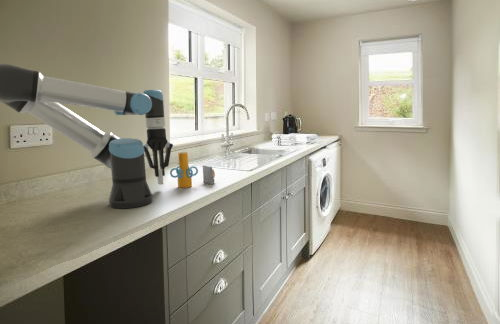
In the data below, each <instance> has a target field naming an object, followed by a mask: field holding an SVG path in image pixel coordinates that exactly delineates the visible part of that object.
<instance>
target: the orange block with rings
mask: <svg viewBox="0 0 500 324" xmlns="http://www.w3.org/2000/svg"><path fill="white" fill-rule="evenodd" d="M177 158H178V166H176V167H173V168H172V169H170V172H169V175H170V176H171V178H175V179H176V178H177V186H178V188H180V189H185V188H190V187H192V185H193V184H192V183H193V182H192V177H194V176H196V175H198V173H199V170H198V168H197V166H194V165H192V166H189V153H188V151H187V152H186V151H182V152H178V157H177ZM193 169H195V170H196V171H195V173H194V172H193ZM173 171H175V173H176V175H174V174H173Z"/></svg>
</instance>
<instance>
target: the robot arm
mask: <svg viewBox="0 0 500 324" xmlns="http://www.w3.org/2000/svg"><path fill="white" fill-rule="evenodd" d="M163 96H164V95H163V92H162V91H161V89H145V90H143V92H131V91H125V90H121V89H115V88H111V87H110V88H109V87H106V86H100V85H95V84H91V83H90V84H88V83H83V82H78V81H73V80H68V79H62V78H57V77H52V76H46V75H43V74H42V73H41V71H37V70H33V69H29V68H28V69H27V68H24V67H21V66H18V65H15V64H14V65H13V64H10V63H0V103H2V104H4V105H6V106H8V107H9V108H11V109H12V110H14V111H16V113H19V114H27V113H28V114H29V115H31V116H33V117H34V118H35V119H37V120H39V121H41V122H42V123H44V124H46V125H48V126H49V127H50V128H52V129H54V130H55V131H57V132H59V133H60V134H62V135H64V136H65V137H67V138H68V139H70V140H71V141H74V142H75V143H77V144H78V145H80V146H81V147H83V148H85V149H86V150H88V151H89V152H90V153H91V157H92V158H93V159H95V160H97V161H98V162H99V163H101V164H103V165H104V166H105V167H107V168H108V169H111V178H112V179H111V181H112V186H111V189H110V194H109V198H108V203H109V204H108V205H109V207H110V208H113V209H130V208H131V209H132V208H138V207H143V206H147V205H150V204H151V203H152V202H153V200H154V199H153V194H152V191H151V189H150V186H149V185H148V181H147V175H146V174H147V173H146V163H145V162H146V161H145V157H146V159H147V163H148V165H149V168H150V169H154V176H155V177H156V178H157V184H158V185H159V186H161V185H164V178H163V177H165V176H166V175H165V174H166V173H165V169H166V167H169V164H170V158H171V153H172V152H171V151H172V148H173V146H174V144H173V143H171V142H169V141H168V139H167V133H166V131H167V130H166V128H165V127H166V120H165V109H164V108H165V105H164V102H165V101H164V97H163ZM63 104H65V105H74V106H80V107H85V108H86V107H87V108H92V109H97V110H98V109H99V110H107V111H111V112H113V113H114V114H115V115H116V116H132V115H135V116H136V115H137V116H143V115H144V116H145V126H146V139H147V140H146V144H144V142H143V141H142V140H140V139H138V138H130V137H129V138H126V137H124V138H123V137H122V138H121V137H118V136H117V135H116V134H114V133H113V132H110V131H108V132H104V131H102V130H100V129H99V128H98V127H96V126H95V125H93V124H92V123H90V122H88V121H87V120H86V119H84V118H83V117H81V116H80V115H78V114H77V113H75V112H73V111H72V110H70V109H69V108H67V107H66V106H64V105H63ZM149 148H150V150H151V151H152V157H151V154H150V151H149ZM164 149H166V150H165V156H164ZM158 156H159V157H158Z"/></svg>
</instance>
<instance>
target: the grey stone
mask: <svg viewBox="0 0 500 324" xmlns="http://www.w3.org/2000/svg"><path fill="white" fill-rule="evenodd" d="M215 176H216V173H215V171H214V169H213V167H212V166H211V165H207V164H202V177H203V183H205V184H208V185H210V186H211V185H214V184H215Z"/></svg>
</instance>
